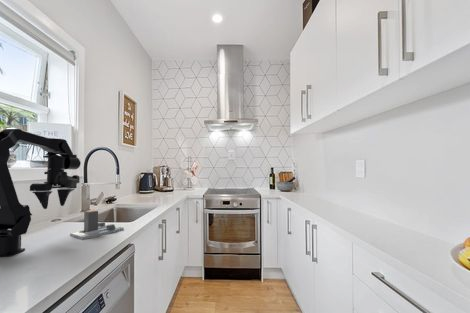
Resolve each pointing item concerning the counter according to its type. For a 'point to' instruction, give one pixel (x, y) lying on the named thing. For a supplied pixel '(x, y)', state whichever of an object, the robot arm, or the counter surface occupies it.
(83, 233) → the breaker panel
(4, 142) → the robot arm
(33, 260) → the counter surface
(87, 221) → the handle
